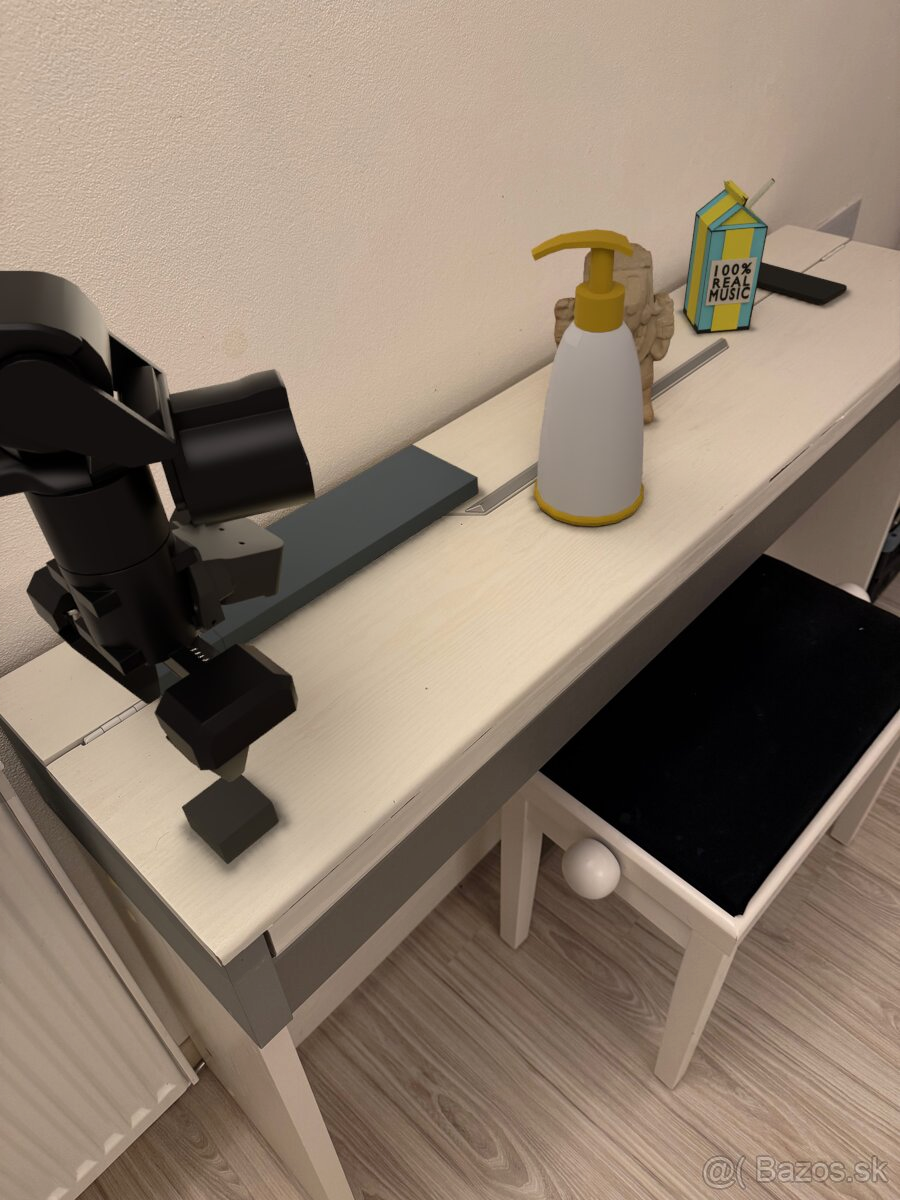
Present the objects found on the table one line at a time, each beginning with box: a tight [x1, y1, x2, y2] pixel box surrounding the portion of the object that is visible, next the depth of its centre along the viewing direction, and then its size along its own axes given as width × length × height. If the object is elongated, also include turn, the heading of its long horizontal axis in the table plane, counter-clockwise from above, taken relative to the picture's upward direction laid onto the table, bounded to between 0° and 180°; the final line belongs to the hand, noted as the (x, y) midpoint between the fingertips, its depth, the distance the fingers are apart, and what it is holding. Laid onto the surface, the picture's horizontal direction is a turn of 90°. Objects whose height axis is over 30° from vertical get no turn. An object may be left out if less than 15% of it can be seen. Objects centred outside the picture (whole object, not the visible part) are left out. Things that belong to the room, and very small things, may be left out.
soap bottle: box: [530, 228, 645, 527], centre depth 80 cm, size 11×12×26 cm
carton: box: [682, 177, 776, 335], centre depth 111 cm, size 7×8×18 cm
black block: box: [181, 773, 280, 865], centre depth 61 cm, size 4×4×2 cm
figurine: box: [553, 242, 675, 424], centre depth 92 cm, size 13×7×20 cm, turn 91°
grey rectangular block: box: [156, 443, 479, 697], centre depth 83 cm, size 38×10×2 cm, turn 135°
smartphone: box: [757, 261, 848, 305], centre depth 123 cm, size 7×1×15 cm
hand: (192, 735), depth 54 cm, fingers open, 9 cm apart
